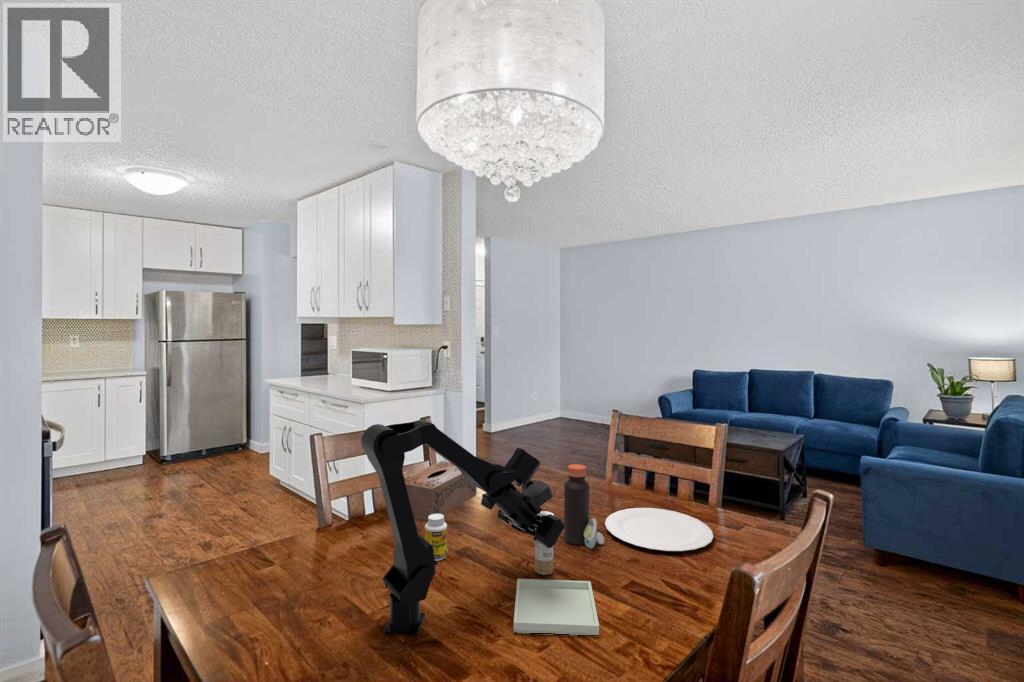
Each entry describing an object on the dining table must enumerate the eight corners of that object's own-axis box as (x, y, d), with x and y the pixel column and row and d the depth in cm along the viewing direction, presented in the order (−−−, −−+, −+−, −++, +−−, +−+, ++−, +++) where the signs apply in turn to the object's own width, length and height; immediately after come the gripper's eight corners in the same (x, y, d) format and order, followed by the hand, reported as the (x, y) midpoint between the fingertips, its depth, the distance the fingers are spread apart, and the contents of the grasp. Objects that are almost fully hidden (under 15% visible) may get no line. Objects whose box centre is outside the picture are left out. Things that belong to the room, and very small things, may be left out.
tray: (599, 636, 92) (599, 625, 91) (513, 632, 92) (513, 622, 92) (590, 590, 108) (590, 581, 107) (517, 587, 108) (517, 578, 108)
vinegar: (570, 532, 137) (571, 461, 137) (593, 538, 134) (593, 465, 133) (559, 541, 132) (559, 467, 131) (582, 547, 128) (583, 471, 127)
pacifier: (593, 538, 124) (580, 547, 127) (614, 547, 125) (600, 556, 129) (594, 512, 129) (581, 522, 133) (614, 521, 131) (601, 530, 134)
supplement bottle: (430, 564, 119) (430, 522, 118) (421, 555, 123) (421, 515, 123) (450, 558, 122) (451, 517, 121) (441, 549, 126) (441, 510, 126)
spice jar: (552, 566, 117) (553, 510, 117) (554, 575, 113) (555, 517, 112) (532, 566, 117) (533, 510, 117) (534, 576, 113) (535, 517, 112)
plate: (738, 546, 130) (738, 539, 130) (646, 565, 119) (647, 558, 119) (665, 508, 157) (665, 502, 157) (585, 521, 146) (586, 514, 146)
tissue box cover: (432, 522, 145) (432, 488, 144) (393, 514, 151) (393, 481, 151) (476, 495, 168) (476, 466, 167) (441, 489, 174) (441, 461, 174)
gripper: (559, 483, 104) (595, 523, 111) (508, 463, 120) (542, 499, 126) (529, 528, 100) (568, 567, 107) (480, 501, 115) (517, 536, 122)
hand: (548, 539), depth 116 cm, fingers closed on spice jar, 4 cm apart
